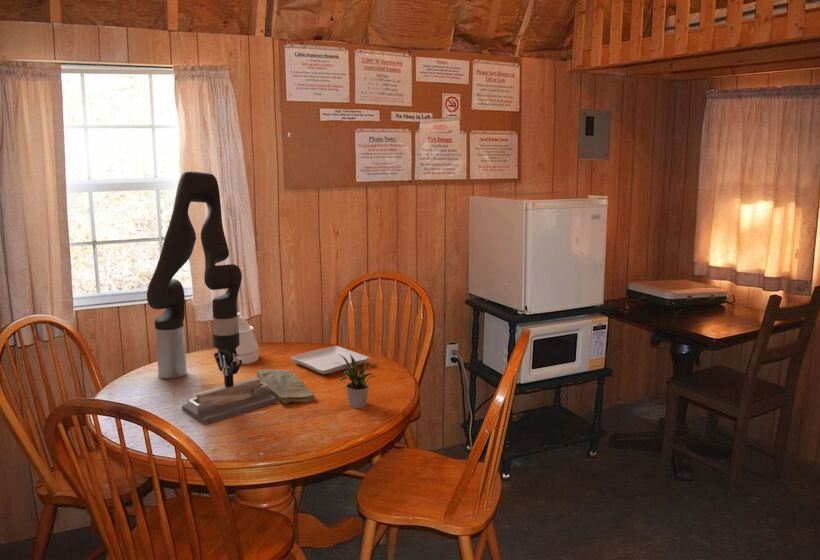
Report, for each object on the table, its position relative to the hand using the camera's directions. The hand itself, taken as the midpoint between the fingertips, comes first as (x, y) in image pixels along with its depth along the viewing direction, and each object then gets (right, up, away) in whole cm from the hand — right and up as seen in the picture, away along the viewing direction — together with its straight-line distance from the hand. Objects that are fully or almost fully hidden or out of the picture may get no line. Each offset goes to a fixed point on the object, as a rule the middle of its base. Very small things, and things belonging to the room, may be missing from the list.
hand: (229, 386), depth 201 cm
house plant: (+37, -6, +3) cm, 38 cm away
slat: (0, -5, +1) cm, 5 cm away
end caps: (0, -5, +1) cm, 5 cm away
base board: (0, -6, +1) cm, 6 cm away
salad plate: (+26, +1, +40) cm, 48 cm away
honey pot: (-8, +3, +46) cm, 47 cm away
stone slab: (+13, -4, +16) cm, 22 cm away
